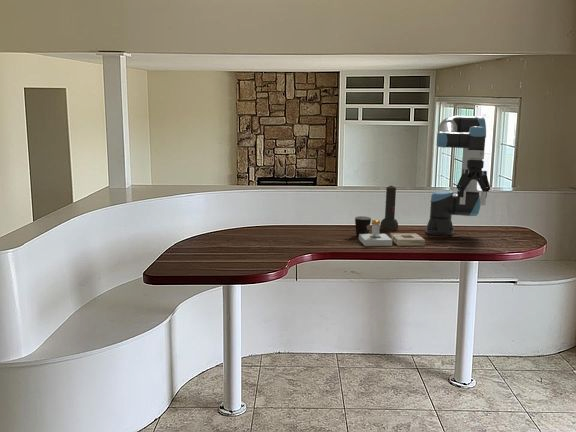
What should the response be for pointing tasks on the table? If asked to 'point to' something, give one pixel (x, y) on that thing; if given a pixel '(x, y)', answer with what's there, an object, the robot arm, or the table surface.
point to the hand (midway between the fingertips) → (472, 204)
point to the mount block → (375, 240)
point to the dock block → (407, 239)
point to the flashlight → (390, 211)
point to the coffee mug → (362, 225)
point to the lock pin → (375, 228)
